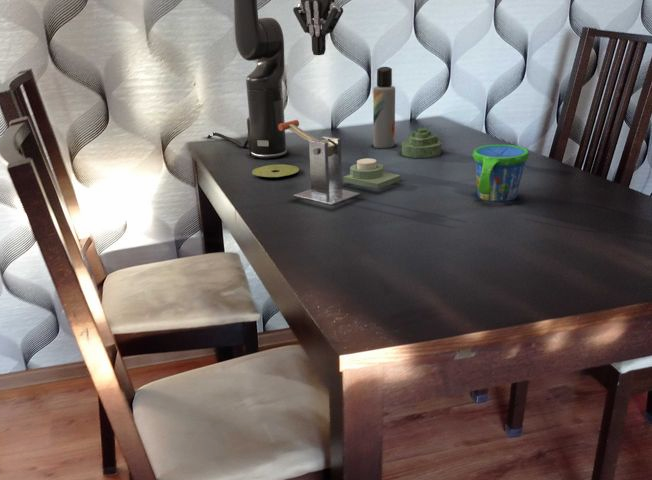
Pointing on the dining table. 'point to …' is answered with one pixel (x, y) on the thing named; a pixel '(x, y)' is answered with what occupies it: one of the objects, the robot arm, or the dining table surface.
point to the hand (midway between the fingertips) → (318, 54)
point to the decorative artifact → (421, 144)
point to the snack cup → (499, 171)
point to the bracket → (326, 174)
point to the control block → (371, 177)
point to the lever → (303, 134)
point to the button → (366, 164)
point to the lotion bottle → (384, 109)
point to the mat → (275, 170)
